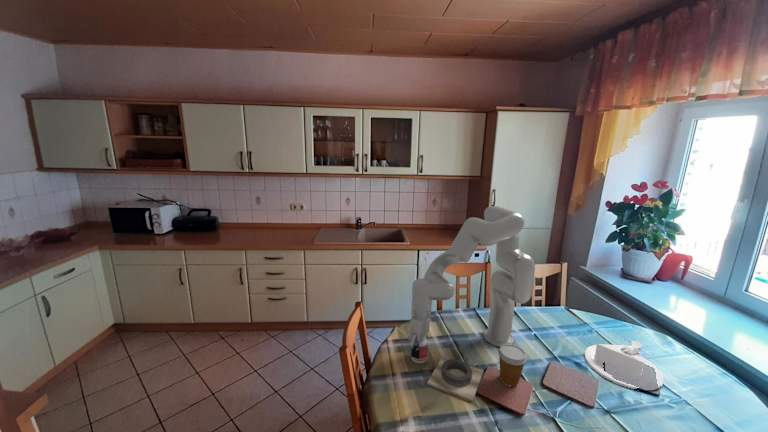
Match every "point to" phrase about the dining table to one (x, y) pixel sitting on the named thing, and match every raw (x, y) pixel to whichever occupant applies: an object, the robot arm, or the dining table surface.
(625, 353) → the dish
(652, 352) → the dining table surface
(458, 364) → the socket board
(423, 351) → the pill bottle
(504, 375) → the disposable coffee cup
